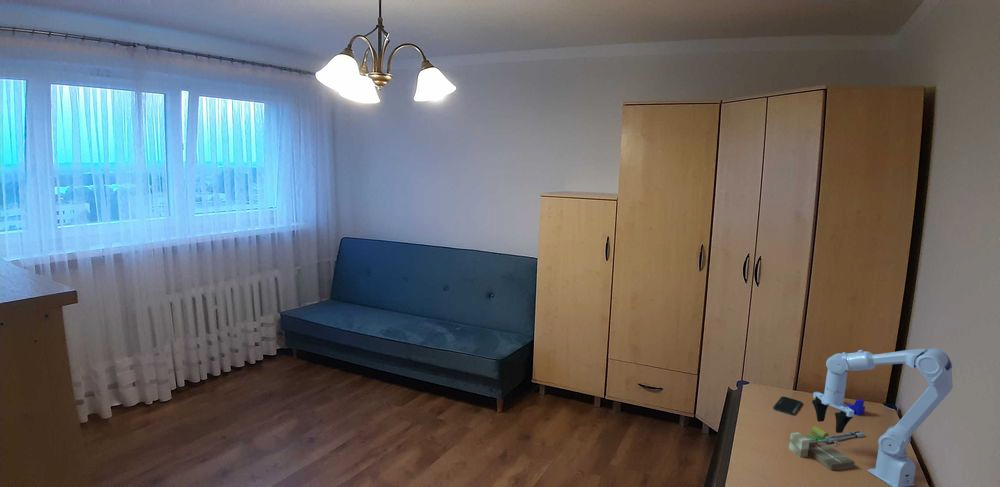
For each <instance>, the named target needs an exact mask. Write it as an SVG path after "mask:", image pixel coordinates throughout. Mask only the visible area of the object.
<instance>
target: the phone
mask: <svg viewBox="0 0 1000 487" xmlns="http://www.w3.org/2000/svg"><path fill="white" fill-rule="evenodd" d="M802 405H803V401H801V400H797V399H794V398H792V397H786V396H781V397H780V398H779V400H777V402H776V403H775V404H774V405H773V407H772V409H773V410H774V411H776V412H780V413H783V414H786V415H790V416H795V415H796V414H797V412H798V411H799V409H800V408H801V407H802Z"/></svg>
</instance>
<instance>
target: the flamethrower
mask: <svg viewBox="0 0 1000 487" xmlns="http://www.w3.org/2000/svg"><path fill="white" fill-rule="evenodd" d="M811 432H812V433H809V434H807V435H806V436H807V437H806V438H808V439H809V440H816V441H823V442H824V443H826V444H831V443H834V444H833V445H832V447H835V446H837V445H838V446H839V444H840V442H839V441H841V440H847V439H851V438H865V434H864V432H861V431H860V430H859V431H852V432H851V431H849V432H846V433H839V434H836V435H835V434H834V435H829V433H828V432H827V431H826V430H823V429H822V428H820V427H818V426H817V425H814V426H812V428H811Z"/></svg>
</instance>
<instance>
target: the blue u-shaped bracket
mask: <svg viewBox="0 0 1000 487" xmlns="http://www.w3.org/2000/svg"><path fill="white" fill-rule="evenodd" d="M864 403H865V400H864V399H861V398H859V399H856V400H855V402H854V404H850V403H847V404H846V405H847V406H848V407H849V408H850V409H852V410H853V411H854V416H858V417H859V416H860V415H863V414H865V410H866V406H864Z"/></svg>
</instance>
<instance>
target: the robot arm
mask: <svg viewBox="0 0 1000 487" xmlns="http://www.w3.org/2000/svg"><path fill="white" fill-rule="evenodd" d="M901 364H902V365H904V364H905V365H906V366H908V367H910V368H911V369H913V370H914V369H917V370H918V372H920V374H921V375H922V376H923V377H924V378H925V379H926V382H927V384H928V387H927V388H926V389H925V390H924V392H923V393H922V394H921V395H920V396H919V398H918V399H917V400H916V401H914V403H913V404H912V405H911V407H910V408H909V409H908V411H906V413H905V414H903V415H902V417H901V418H900V420H899V421H898V422H897V423H896V424H895V425H894V426H890V427H888V428H887V430H886V432H884V433H883V434H882V435H881V436H880V437H879V438H878V441H877V443H878V450H877V456H876V461H875V462H876V463H875V468H868V469H867V472H868V473H870V474H872V475H873V476H875V477H877V478H878V479H879V480H881V481H882V482H884V483H885V484H887V485H889V486H890V487H914V486H915V485H916V484H915V482H914V480H915V477H916V469H917V467H916V464H915V462H914V461H913V460H911V458H909V457H908V452H907V449H906V447H907V446H908V445H909V444H910V443H911V439H912V438H911V437H912V435H913V434H914V433H915V431H917V429H918V428H920V426H921V425H922V424H923V423H924V421H926V419H927V418H928V417H929V416H930V415H931V414H932V413H933V412H934V410H935V409H936V408H937V407H938V406H939V405H940V404H941V403H942V402H943V401H944V399H945V398H946V397H947V396H948V395H949V393H950V392H951V391H952V390H953V388H954V387H953V384H954V383H953V363H952V361H951V359H950V356H949V355H948V354H947V353H946V352H945V351H944V350H941V349H940V348H936V347H934V348H929V349H926V348H914V349H905V350H898V351H892V352H883V353H876V354H874V353H872V352H871V351H868V350H867V351H864V349H859V350H857V351H856V352H850V353H847V352H846V351H845V352H842V353H840V352H838V353H834V354H833V355H831V356H829V357H828V358H827V359H826V362H825V366H826V368H827V373H826V378H825V384H824V386H825V387H824V392H823V393H821V392H820V391H814V392H813V396H812V398H813V400H812V401H811V403H812V406H813V407H814V409H815V413H816V420H817V422H824V421H825V419H826V414H827V410H828V408H829V407H832V408H834V409H836V410H837V411H838V412H834V416H835V433H837V434H843V432H844V430H845V428H846V426H847V425H848V423H849V422H850V421H851V420H853V418H854V416H855V414H854V411H853V410H852V409H850V408H849V407H848V406H847V404H846V403H845V402H844V401H845V396H846V395H845V394H846V387H847V380H848V371H849V372H856V371H858V372H859V371H870V370H874V369H875V367H876V366H879V365H880V366H881V365H901Z"/></svg>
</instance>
